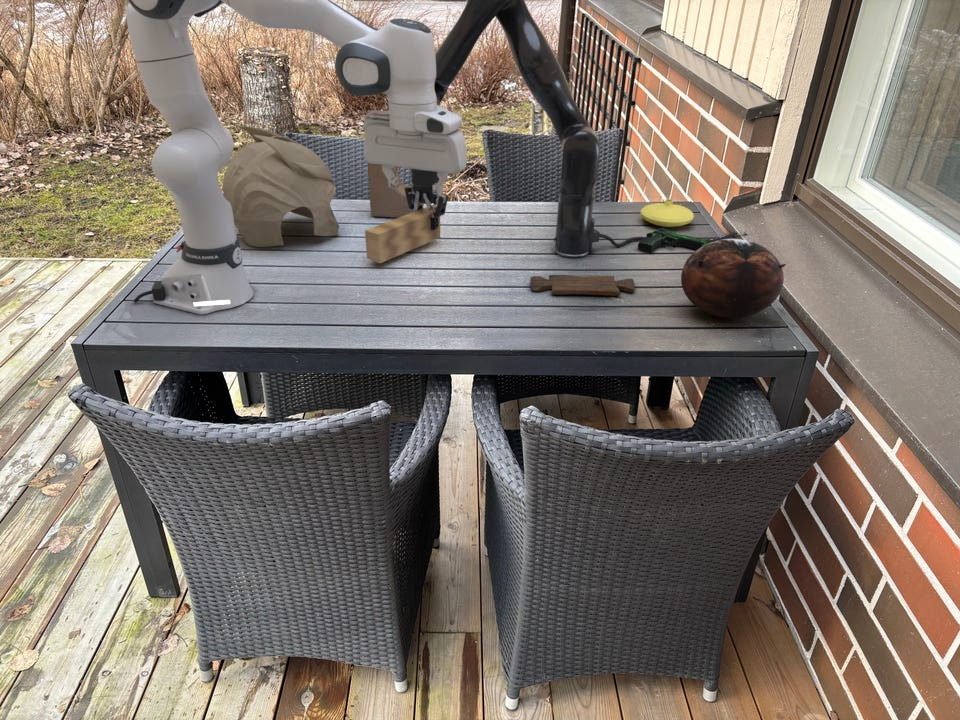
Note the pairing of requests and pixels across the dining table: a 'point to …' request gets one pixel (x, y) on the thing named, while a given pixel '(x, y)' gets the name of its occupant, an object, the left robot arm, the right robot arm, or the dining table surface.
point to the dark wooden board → (581, 285)
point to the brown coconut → (732, 278)
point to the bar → (400, 235)
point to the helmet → (277, 188)
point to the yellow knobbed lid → (667, 214)
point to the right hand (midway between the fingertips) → (426, 227)
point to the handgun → (669, 240)
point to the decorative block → (386, 190)
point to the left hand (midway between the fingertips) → (415, 190)
